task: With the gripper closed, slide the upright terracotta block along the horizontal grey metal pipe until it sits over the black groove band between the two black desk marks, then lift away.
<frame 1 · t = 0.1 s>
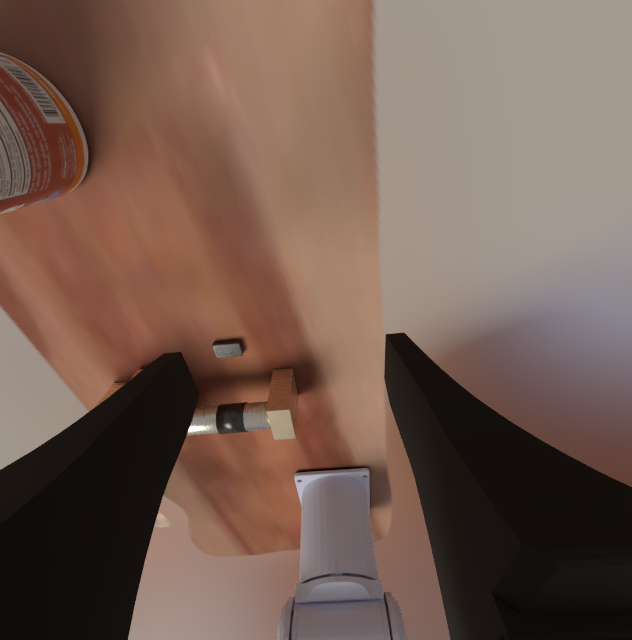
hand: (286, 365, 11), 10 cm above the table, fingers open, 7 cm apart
upright terracotta block: (149, 426, 23), point 3 cm above the table, slide at 3.5 cm
pipe rail: (207, 389, 25), on the table
pill bottle: (31, 131, 15), on the table
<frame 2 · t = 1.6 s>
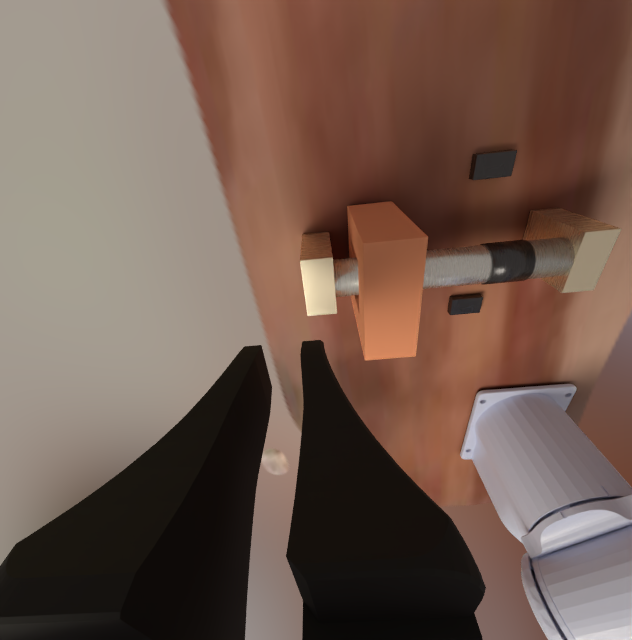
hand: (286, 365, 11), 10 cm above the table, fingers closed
upright terracotta block: (379, 275, 16), point 3 cm above the table, slide at 3.5 cm
pipe rail: (425, 247, 19), on the table
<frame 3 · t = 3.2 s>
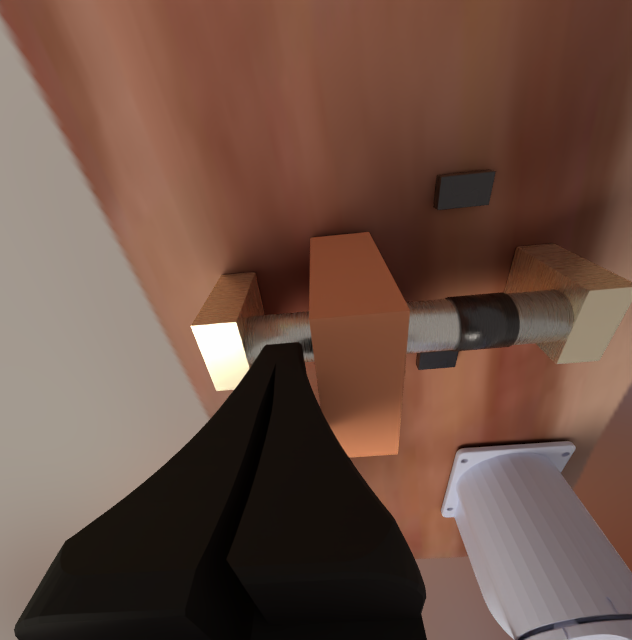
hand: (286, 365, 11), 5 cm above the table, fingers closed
upright terracotta block: (349, 335, 12), point 3 cm above the table, slide at 1.9 cm, touching gripper
pipe rail: (382, 290, 15), on the table
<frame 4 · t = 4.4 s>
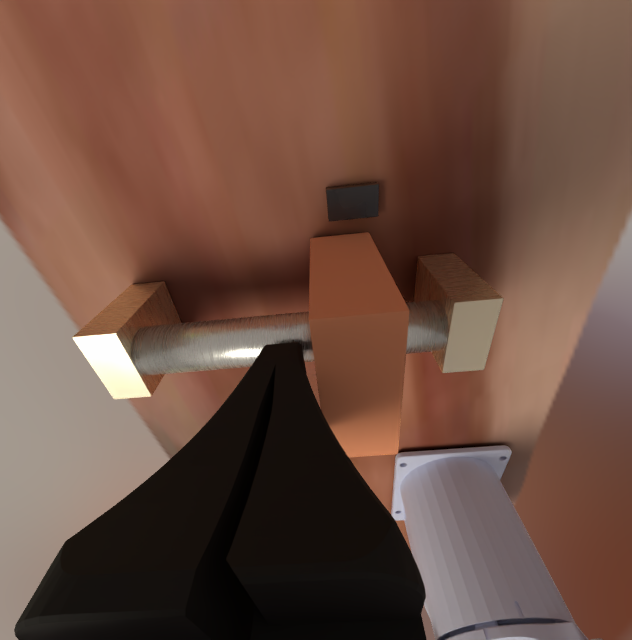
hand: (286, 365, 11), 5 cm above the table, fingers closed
upright terracotta block: (349, 335, 12), point 3 cm above the table, slide at -2.4 cm, touching gripper
pipe rail: (293, 299, 15), on the table
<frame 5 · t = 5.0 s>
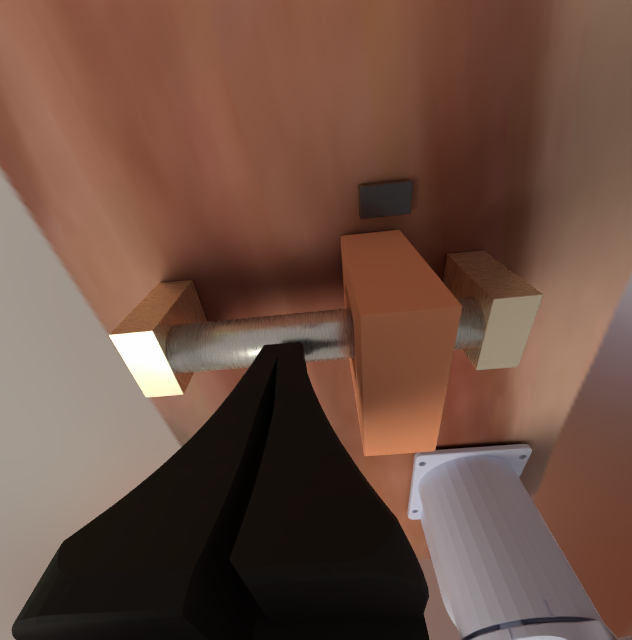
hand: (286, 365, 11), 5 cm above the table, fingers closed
upright terracotta block: (383, 333, 12), point 3 cm above the table, slide at -2.4 cm
pipe rail: (320, 297, 15), on the table
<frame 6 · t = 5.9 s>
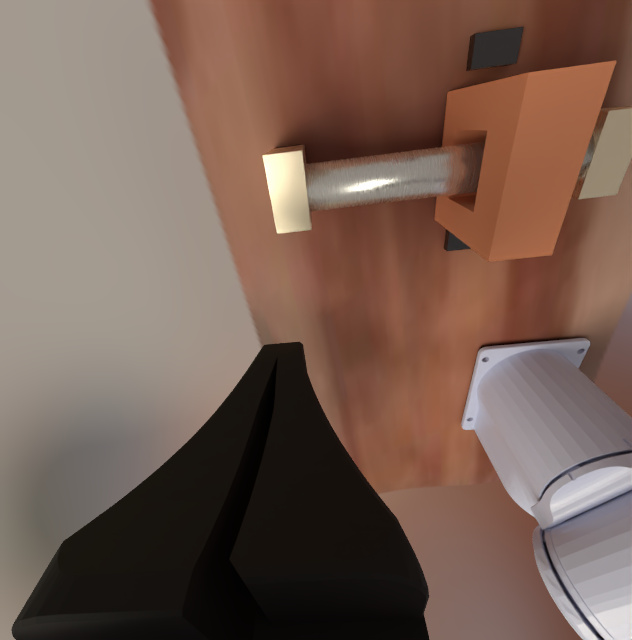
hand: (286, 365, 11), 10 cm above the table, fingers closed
upright terracotta block: (495, 166, 13), point 3 cm above the table, slide at -2.4 cm
pipe rail: (417, 164, 16), on the table
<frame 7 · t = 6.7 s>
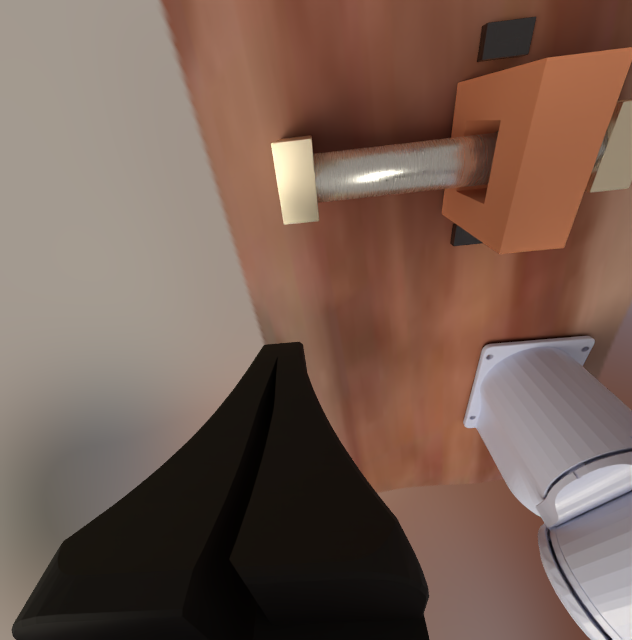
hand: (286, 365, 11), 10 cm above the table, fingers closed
upright terracotta block: (506, 158, 13), point 3 cm above the table, slide at -2.4 cm
pipe rail: (425, 157, 16), on the table
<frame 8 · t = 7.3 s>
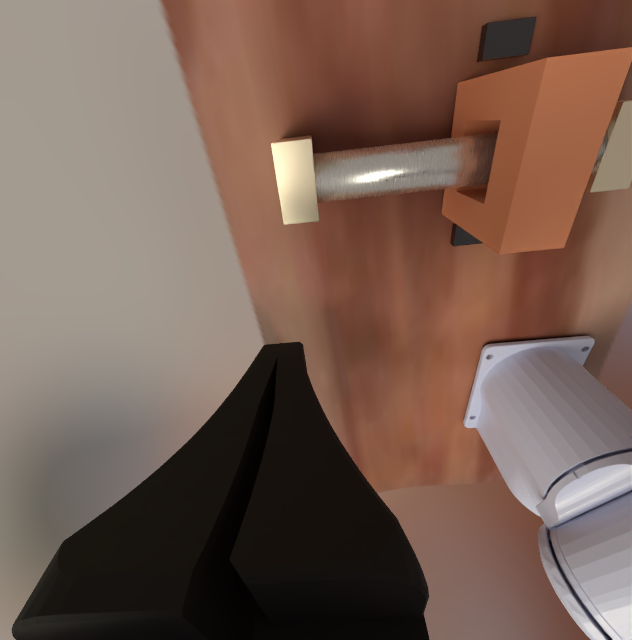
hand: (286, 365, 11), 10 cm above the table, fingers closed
upright terracotta block: (506, 158, 13), point 3 cm above the table, slide at -2.4 cm
pipe rail: (425, 157, 16), on the table
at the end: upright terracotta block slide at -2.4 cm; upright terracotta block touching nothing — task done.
